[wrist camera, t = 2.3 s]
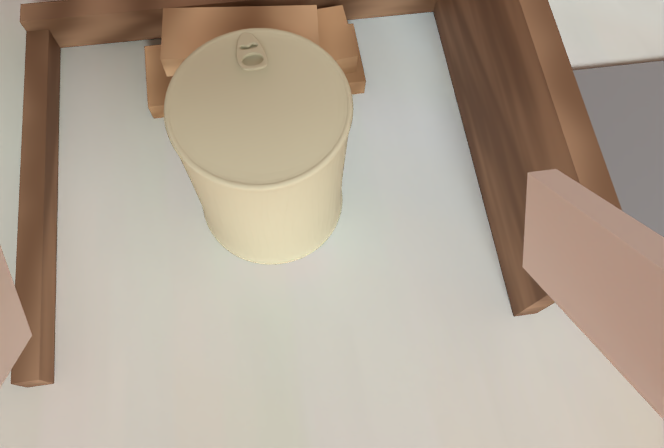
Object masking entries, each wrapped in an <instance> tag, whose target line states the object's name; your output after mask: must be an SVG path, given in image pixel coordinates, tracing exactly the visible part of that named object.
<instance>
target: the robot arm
mask: <svg viewBox="0 0 664 448" xmlns="http://www.w3.org/2000/svg"><path fill="white" fill-rule="evenodd" d="M522 267H523V268H524V269H525V270H526V271H527V273H528V274H529V275H530V276H531V277H532V278H533V279H534V280H535V281H536V282H537V283H538V284H539V286H540V287H541V288H542V289H543V290H544V291H545V292H546V293H547V294H548V295H549V296H550V297H551V298H552V300H553V301H554V302H555V303H556V304H557V305H558V306H559V307H560V308H561V309H562V310H563V311H564V313H565V314H566V315H567V316H568V317H569V318H570V319H571V320H572V321H573V322H574V323H575V324H576V326H577V327H578V328H579V329H580V330H581V331H582V332H583V333H584V334H585V335H586V336H587V337H588V338H589V340H590V341H591V342H592V343H593V344H594V345H595V346H596V347H597V348H598V349H599V350H600V351H601V353H602V354H603V355H604V356H605V357H606V358H607V359H608V360H609V361H610V362H611V363H612V364H613V366H614V367H615V368H616V369H617V370H618V371H619V372H620V373H621V374H622V375H623V376H624V377H625V379H626V380H627V381H628V382H629V383H630V384H631V385H632V386H633V387H634V388H635V389H636V390H637V391H638V393H639V394H640V395H641V396H642V397H643V398H644V399H645V400H646V401H647V402H648V403H649V404H650V406H651V407H652V408H653V409H654V410H655V411H656V412H657V413H658V414H659V415H660V416H661V417H662V419H663V420H664V237H662V236H661V235H659V234H658V233H656V232H654V231H653V230H651V229H650V228H648V227H647V226H645V225H643V224H642V223H640V222H639V221H637V220H636V219H634V218H633V217H631V216H629V215H628V214H626V213H625V212H623V211H622V210H620V209H618V208H617V207H615V206H614V205H612V204H611V203H609V202H607V201H606V200H604V199H603V198H601V197H600V196H598V195H596V194H595V193H593V192H592V191H590V190H589V189H587V188H585V187H584V186H582V185H581V184H579V183H578V182H576V181H574V180H573V179H571V178H570V177H568V176H567V175H565V174H563V173H562V172H560V171H559V170H557V169H551V170H543V171H535V172H528V175H527V193H526V211H525V230H524V248H523V266H522ZM31 336H32V334H31V331H30V328H29V325H28V322H27V319H26V317H25V314H24V311H23V308H22V305H21V302H20V300H19V297H18V294H17V291H16V288H15V285H14V283H13V280H12V277H11V274H10V271H9V268H8V266H7V263H6V260H5V257H4V254H3V251H2V249H1V246H0V387H1V385H2V384H3V382H4V381H5V379H6V377H7V376H8V374H9V372H10V371H11V369H12V367H13V366H14V364H15V363H16V361H17V359H18V358H19V356H20V354H21V353H22V351H23V350H24V348H25V346H26V345H27V343H28V341H29V340H30V338H31Z"/></svg>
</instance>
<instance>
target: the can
mask: <svg viewBox="0 0 664 448" xmlns="http://www.w3.org/2000/svg"><path fill="white" fill-rule="evenodd" d="M352 117H353V100H352V93H351V89H350V86H349V83H348V80H347V78H346V76H345V74H344V72H343V71H342V69H341V68H340V66H339V65H338V63H337V62H336V61H335V60H334V59H333V57H332V56H331V55H330V54H329V53H328V52H326V51H325V50H324V49H323V48H321V47H320V46H319V45H317V44H315V43H314V42H312V41H311V40H309V39H306V38H304V37H302V36H300V35H297V34H294V33H292V32H288V31H284V30H278V29H271V28H249V29H242V30H237V31H233V32H229V33H226V34H224V35H221V36H218V37H216V38H214V39H212V40H210V41H208V42H206V43H205V44H203V45H201V46H200V47H198V48H197V49H196V50H195V51H193V52H192V53H191V54H190V55H189V56H188V57H187V58H186V59H185V60H184V61H183V62H182V63H181V65H180V66H179V67H178V69H177V70H176V72H175V73H174V75H173V77H172V79H171V81H170V83H169V86H168V89H167V92H166V96H165V102H164V121H165V127H166V131H167V134H168V137H169V139H170V142H171V144H172V146H173V147H174V149H175V151H176V152H177V154H178V155H179V156H180V159H181V161H182V163H183V165H184V167H185V169H186V171H187V173H188V175H189V177H190V180H191V182H192V184H193V186H194V188H195V191H196V193H197V195H198V197H199V200H200V202H201V204H202V206H203V211H204V216H205V219H206V222H207V225H208V227H209V229H210V231H211V232H212V234H213V235H214V237H215V238H216V239H217V241H218V242H219V243H220V244H221V245H222V246H223V247H224V248H226V249H227V250H228V251H230V252H231V253H232V254H234V255H236V256H238V257H240V258H242V259H245V260H247V261H251V262H255V263H260V264H283V263H288V262H292V261H295V260H298V259H301V258H303V257H305V256H307V255H309V254H310V253H312V252H313V251H315V250H316V249H317V248H319V247H320V246H321V245H322V244H323V243H324V242H325V241H326V240H327V239H328V237H329V236H330V235H331V234H332V232H333V230H334V229H335V227H336V225H337V222H338V220H339V217H340V214H341V209H342V189H341V187H342V177H343V169H344V161H345V154H346V147H347V139H348V134H349V131H350V127H351V123H352Z"/></svg>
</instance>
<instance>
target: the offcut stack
mask: <svg viewBox="0 0 664 448" xmlns="http://www.w3.org/2000/svg"><path fill="white" fill-rule="evenodd" d="M249 28H271V29H278V30H284V31H288V32H292V33H294V34H297V35H300V36H302V37H304V38H306V39H309V40H311V41H312V42H314V43H315V44H317V45H319V46H320V47H321V48H323V49H324V50H325V51H326V52H328V53H329V54H330V55H331V56H332V57H333V59H334V60H335V61H336V62H337V63H338V65H339V66H340V68H341V69H342V71H343V72H344V74H345V76H346V78H347V80H348V83H349V86H350V89H351V93H352V94H359V93H364V89H365V83H366V80H365V75H364V70H363V66H362V61H361V57H360V52H359V48H358V43H357V38H356V34H355V29H354V25H353V24H348V22H347V19H346V15H345V12H344V9H343V5H339V6H333V7H327V8H321V9H317V5H291V6H243V7H195V8H163V19H162V37H161V45H152V46H144V48H145V64H146V81H147V97H148V108H149V110H150V112H151V114H152V116H153V118H162V117H164V102H165V96H166V92H167V89H168V86H169V83H170V81H171V79H172V77H173V75H174V73H175V72H176V70H177V69H178V67H179V66H180V65H181V63H182V62H183V61H184V60H185V59H186V58H187V57H188V56H189V55H190V54H191V53H192V52H193V51H195V50H196V49H197V48H198V47H200V46H201V45H203V44H205V43H206V42H208V41H210V40H212V39H214V38H216V37H218V36H221V35H224V34H226V33H229V32H233V31H237V30H242V29H249Z"/></svg>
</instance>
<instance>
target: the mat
mask: <svg viewBox="0 0 664 448" xmlns="http://www.w3.org/2000/svg"><path fill="white" fill-rule="evenodd" d="M573 73H574V76H575V78H576V81H577V84H578V87H579V90H580V93H581V95H582V98H583V101H584V104H585V107H586V110H587V112H588V115H589V118H590V121H591V124H592V126H593V129H594V132H595V135H596V138H597V141H598V143H599V146H600V149H601V152H602V155H603V158H604V160H605V163H606V166H607V169H608V172H609V174H610V177H611V180H612V183H613V186H614V189H615V191H616V194H617V197H618V200H619V203H620V206H621V208H622V211H623V212H625V213H626V214H628V215H629V216H631V217H633V218H634V219H636V220H637V221H639V222H640V223H642V224H643V225H645V226H647V227H648V228H650V229H651V230H653V231H654V232H656V233H658V234H659V235H661V236H662V237H664V61H655V62H646V63H637V64H628V65H618V66H609V67H600V68H591V69H582V70H573Z"/></svg>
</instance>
